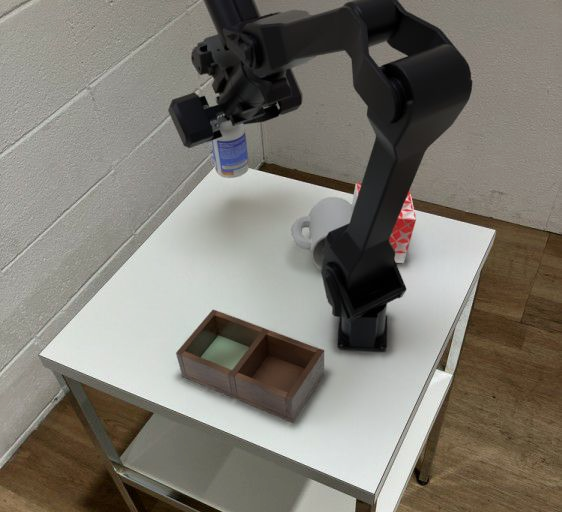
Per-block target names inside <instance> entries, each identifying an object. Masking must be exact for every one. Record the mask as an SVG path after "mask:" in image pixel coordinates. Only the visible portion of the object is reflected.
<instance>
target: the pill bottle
mask: <svg viewBox="0 0 562 512" xmlns="http://www.w3.org/2000/svg"><path fill="white" fill-rule="evenodd" d="M220 116H221V117H222V115H220ZM223 116H224V114H223ZM218 117H219V116H218ZM220 131H221V134H222V137H220V138H217V139H215V140H212V141H210V144H211V150H212V151H211V152H212V156H213V165H214V169H215V172H216V174H217V175H219V176H220V177H222V178H225V179H235V178H239V177H242V176H244V175H245V174H247V172H248V171H249V168H250V161H249V152H248V146H247V136H246V128H245V124H243V123H241V124H238V125H236V126H233V125H232V123H231V121H228V122H225V123H222V124H221V127H220Z"/></svg>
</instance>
